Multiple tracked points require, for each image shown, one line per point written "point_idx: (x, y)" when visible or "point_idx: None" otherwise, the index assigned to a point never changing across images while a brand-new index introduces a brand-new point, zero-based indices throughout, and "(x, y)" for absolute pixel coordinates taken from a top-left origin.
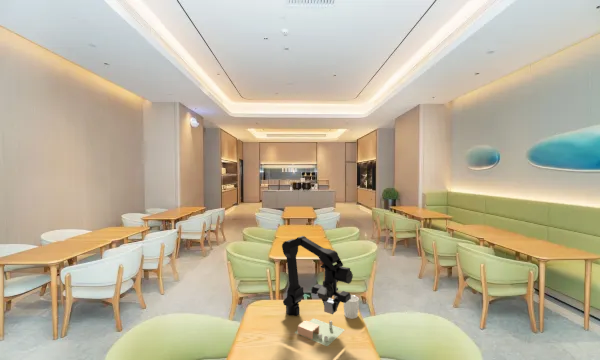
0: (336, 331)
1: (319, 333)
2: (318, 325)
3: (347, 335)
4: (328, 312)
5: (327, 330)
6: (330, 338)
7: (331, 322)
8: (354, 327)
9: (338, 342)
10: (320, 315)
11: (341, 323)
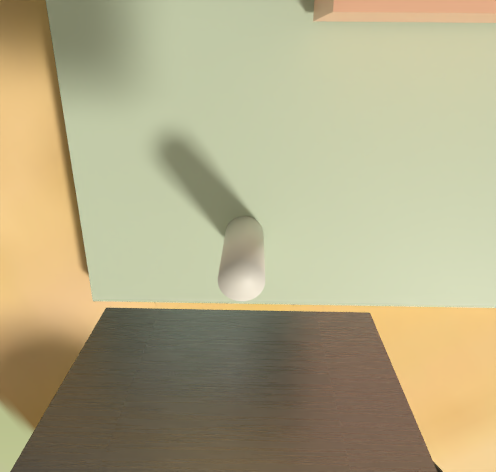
0: (148, 214)
1: (313, 32)
2: (347, 3)
3: (37, 242)
4: (226, 320)
5: (255, 168)
6: (108, 11)
7: (220, 264)
8: None
9: (17, 46)
10: (492, 406)
11: None
